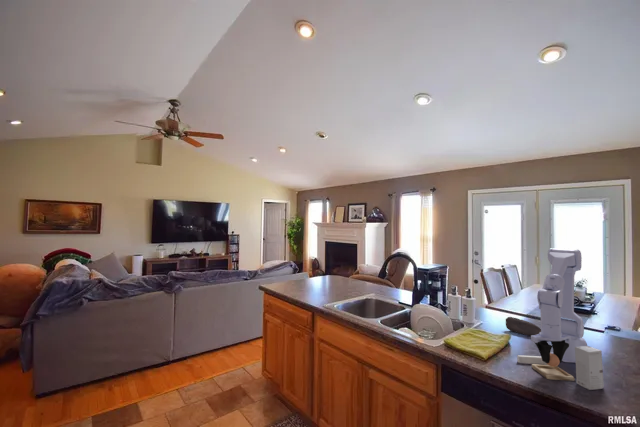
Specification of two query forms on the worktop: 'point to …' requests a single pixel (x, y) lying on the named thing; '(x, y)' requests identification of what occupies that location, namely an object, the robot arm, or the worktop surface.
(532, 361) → the bar
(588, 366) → the skincare box
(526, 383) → the worktop surface
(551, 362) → the ball
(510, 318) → the perforated stone tool
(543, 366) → the tray
